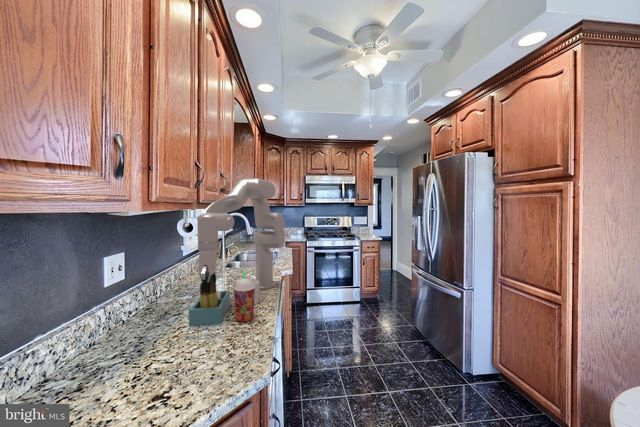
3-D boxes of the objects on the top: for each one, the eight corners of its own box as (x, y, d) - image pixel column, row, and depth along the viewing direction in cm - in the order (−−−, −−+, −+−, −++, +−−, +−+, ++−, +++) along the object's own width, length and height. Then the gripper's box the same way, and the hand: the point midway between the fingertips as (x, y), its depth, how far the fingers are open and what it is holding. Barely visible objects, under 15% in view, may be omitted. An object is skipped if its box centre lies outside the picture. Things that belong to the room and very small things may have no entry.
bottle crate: (204, 307, 123) (203, 292, 123) (230, 305, 125) (230, 290, 125) (189, 328, 102) (188, 310, 102) (220, 326, 104) (220, 308, 104)
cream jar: (209, 307, 121) (209, 291, 120) (221, 306, 122) (221, 291, 121) (206, 311, 116) (206, 295, 115) (219, 311, 116) (219, 294, 116)
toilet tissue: (261, 306, 125) (261, 284, 125) (233, 309, 121) (233, 286, 121) (258, 298, 135) (258, 278, 135) (232, 301, 131) (232, 280, 131)
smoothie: (254, 315, 114) (254, 268, 113) (256, 324, 106) (256, 273, 105) (233, 318, 111) (232, 269, 111) (233, 327, 103) (233, 274, 103)
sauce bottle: (218, 314, 113) (218, 266, 112) (217, 320, 107) (216, 270, 106) (201, 316, 111) (200, 267, 110) (198, 322, 105) (198, 271, 104)
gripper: (203, 242, 116) (204, 282, 116) (191, 249, 99) (192, 296, 99) (222, 242, 117) (223, 281, 118) (213, 249, 100) (214, 295, 101)
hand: (209, 288), depth 109 cm, fingers open, 9 cm apart
